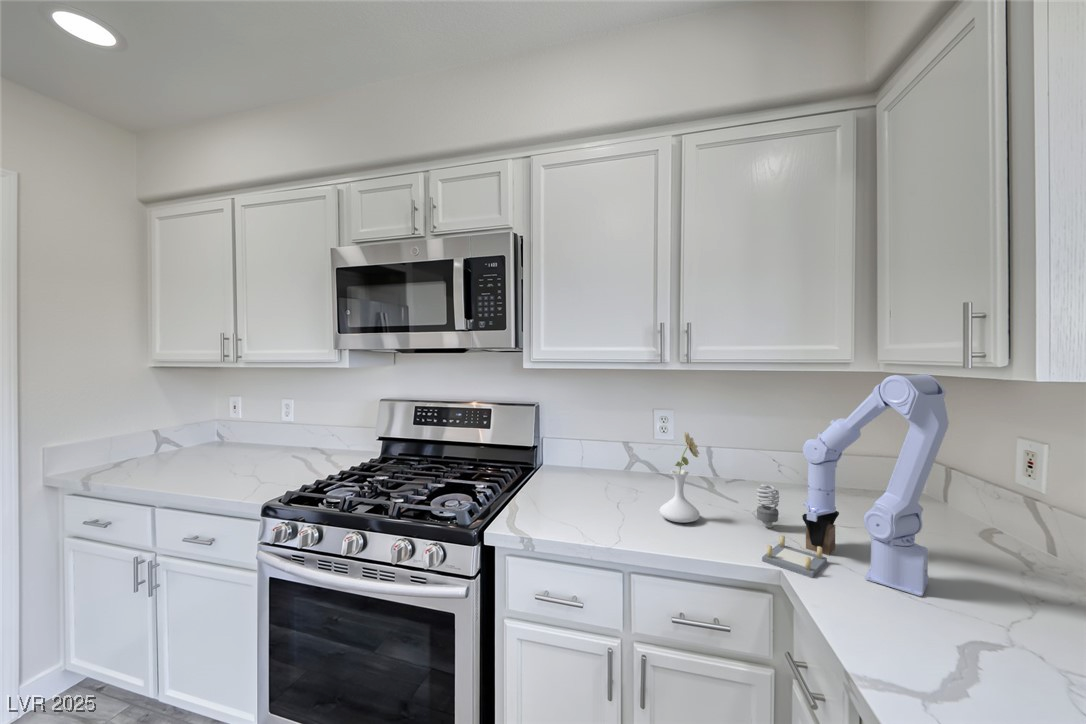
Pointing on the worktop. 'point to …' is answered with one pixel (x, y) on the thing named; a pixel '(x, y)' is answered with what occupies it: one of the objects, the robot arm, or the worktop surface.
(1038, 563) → the worktop surface
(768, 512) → the light bulb
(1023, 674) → the worktop surface
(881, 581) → the robot arm
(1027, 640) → the worktop surface
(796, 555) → the standoff board
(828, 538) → the walnut block
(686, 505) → the flower in vase
